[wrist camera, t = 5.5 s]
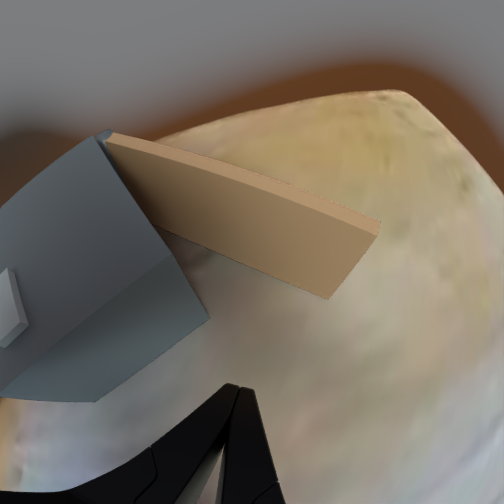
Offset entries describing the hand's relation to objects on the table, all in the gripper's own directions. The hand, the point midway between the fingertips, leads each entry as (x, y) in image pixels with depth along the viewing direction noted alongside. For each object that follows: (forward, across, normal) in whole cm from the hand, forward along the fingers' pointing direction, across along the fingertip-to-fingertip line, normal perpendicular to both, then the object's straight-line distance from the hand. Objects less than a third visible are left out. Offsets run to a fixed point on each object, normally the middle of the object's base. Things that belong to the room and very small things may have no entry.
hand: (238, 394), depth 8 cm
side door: (+14, +4, 0) cm, 14 cm away
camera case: (+9, +11, +5) cm, 15 cm away
